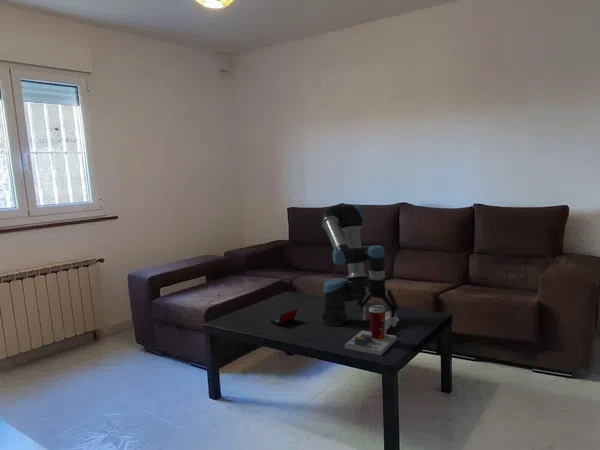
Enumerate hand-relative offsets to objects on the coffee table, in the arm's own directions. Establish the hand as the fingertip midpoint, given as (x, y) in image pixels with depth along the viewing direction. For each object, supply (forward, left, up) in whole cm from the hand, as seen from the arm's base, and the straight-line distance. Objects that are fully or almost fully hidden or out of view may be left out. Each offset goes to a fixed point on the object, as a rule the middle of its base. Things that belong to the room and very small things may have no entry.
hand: (378, 321), depth 219 cm
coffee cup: (0, 0, -8) cm, 8 cm away
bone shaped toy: (-2, +16, -10) cm, 20 cm away
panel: (-2, -4, -10) cm, 11 cm away
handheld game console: (-58, +4, -11) cm, 59 cm away
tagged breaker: (-4, -12, -8) cm, 15 cm away
